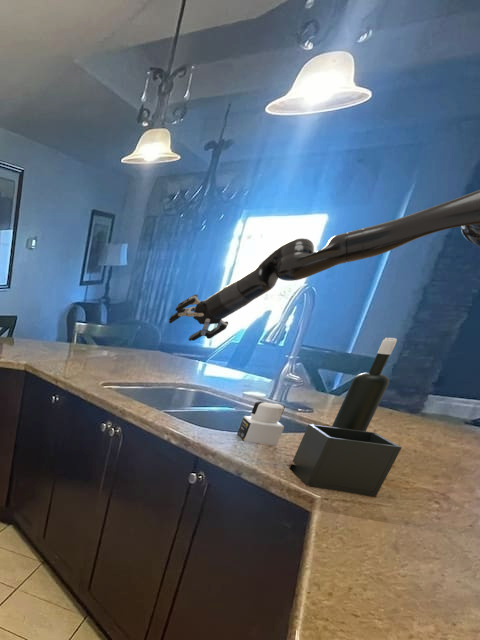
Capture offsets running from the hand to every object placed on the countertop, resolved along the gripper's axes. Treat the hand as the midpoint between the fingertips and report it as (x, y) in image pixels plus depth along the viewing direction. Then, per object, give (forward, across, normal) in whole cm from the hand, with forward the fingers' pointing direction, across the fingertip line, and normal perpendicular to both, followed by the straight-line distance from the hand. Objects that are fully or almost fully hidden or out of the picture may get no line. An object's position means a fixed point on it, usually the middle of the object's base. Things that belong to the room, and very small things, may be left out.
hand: (179, 330), depth 156 cm
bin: (-31, +30, -52) cm, 68 cm away
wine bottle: (-25, +36, -39) cm, 59 cm away
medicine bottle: (-14, +26, -36) cm, 47 cm away
